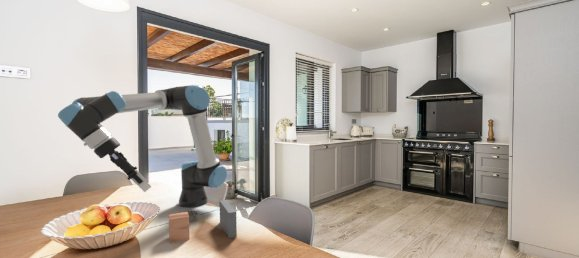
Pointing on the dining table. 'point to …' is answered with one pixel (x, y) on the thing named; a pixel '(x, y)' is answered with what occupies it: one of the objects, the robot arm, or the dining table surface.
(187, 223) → the terracotta block
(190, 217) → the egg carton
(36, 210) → the dining table surface
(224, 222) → the grey board
